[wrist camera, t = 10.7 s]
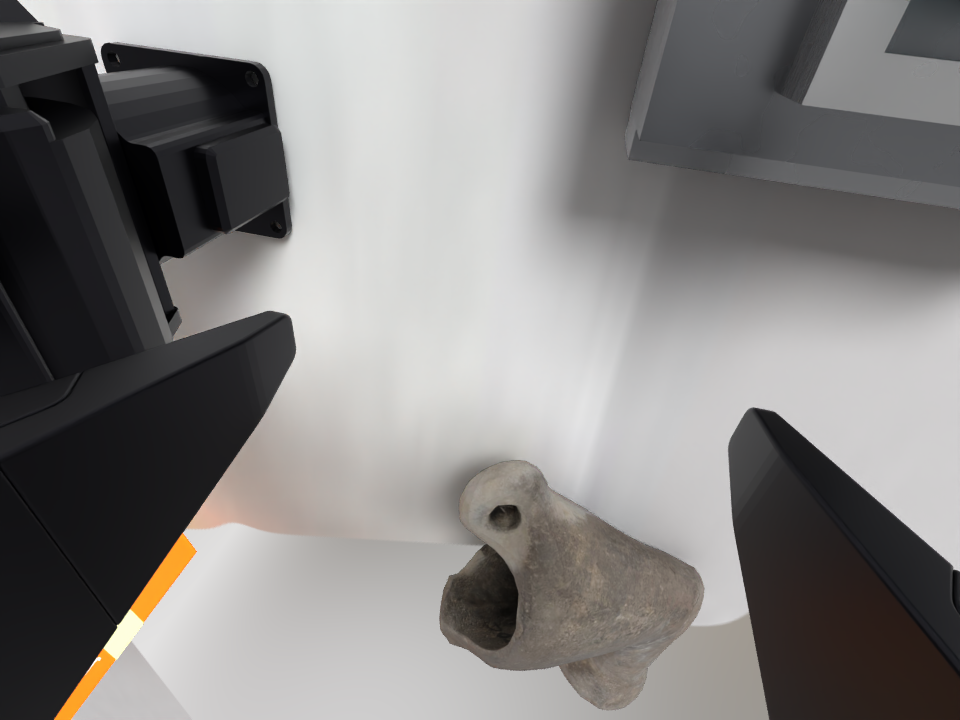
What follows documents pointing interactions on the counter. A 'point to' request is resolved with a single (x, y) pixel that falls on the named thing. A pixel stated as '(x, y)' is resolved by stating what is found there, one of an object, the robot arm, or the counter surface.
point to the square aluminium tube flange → (806, 94)
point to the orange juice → (131, 623)
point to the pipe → (563, 589)
